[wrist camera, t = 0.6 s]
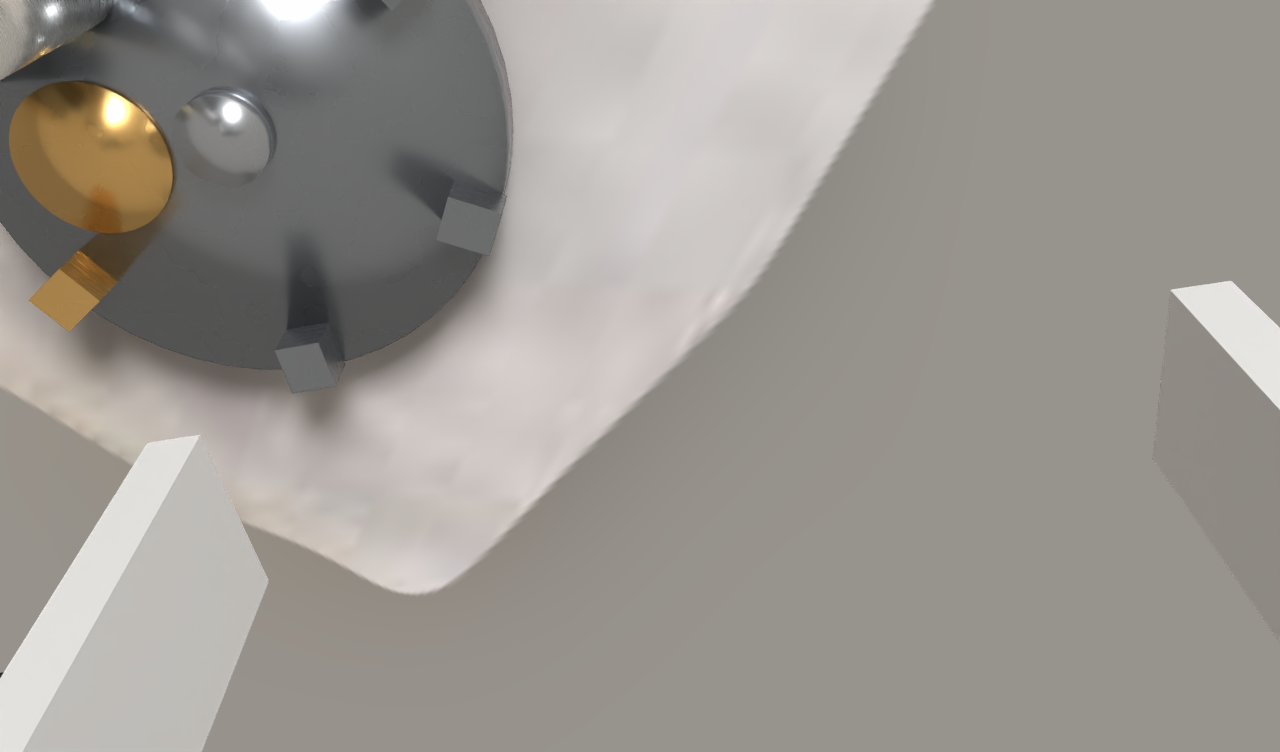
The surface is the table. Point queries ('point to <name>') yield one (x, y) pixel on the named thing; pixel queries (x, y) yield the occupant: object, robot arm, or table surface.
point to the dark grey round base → (253, 168)
